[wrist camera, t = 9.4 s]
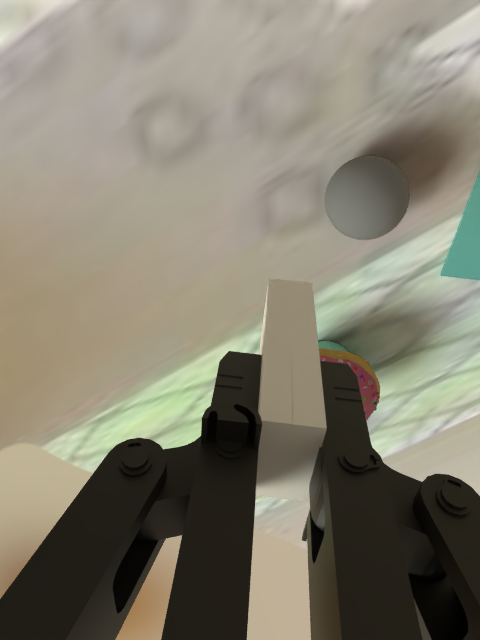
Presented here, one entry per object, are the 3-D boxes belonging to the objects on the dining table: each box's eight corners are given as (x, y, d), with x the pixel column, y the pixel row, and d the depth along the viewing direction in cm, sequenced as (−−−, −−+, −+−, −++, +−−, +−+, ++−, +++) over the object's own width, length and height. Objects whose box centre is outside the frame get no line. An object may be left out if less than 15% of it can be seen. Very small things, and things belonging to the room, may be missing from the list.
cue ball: (423, 184, 25) (424, 158, 30) (332, 158, 26) (345, 136, 30) (387, 264, 29) (393, 230, 33) (308, 238, 30) (323, 209, 34)
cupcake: (287, 397, 44) (287, 504, 34) (271, 329, 40) (265, 429, 30) (374, 387, 42) (401, 497, 32) (368, 315, 38) (396, 417, 28)
